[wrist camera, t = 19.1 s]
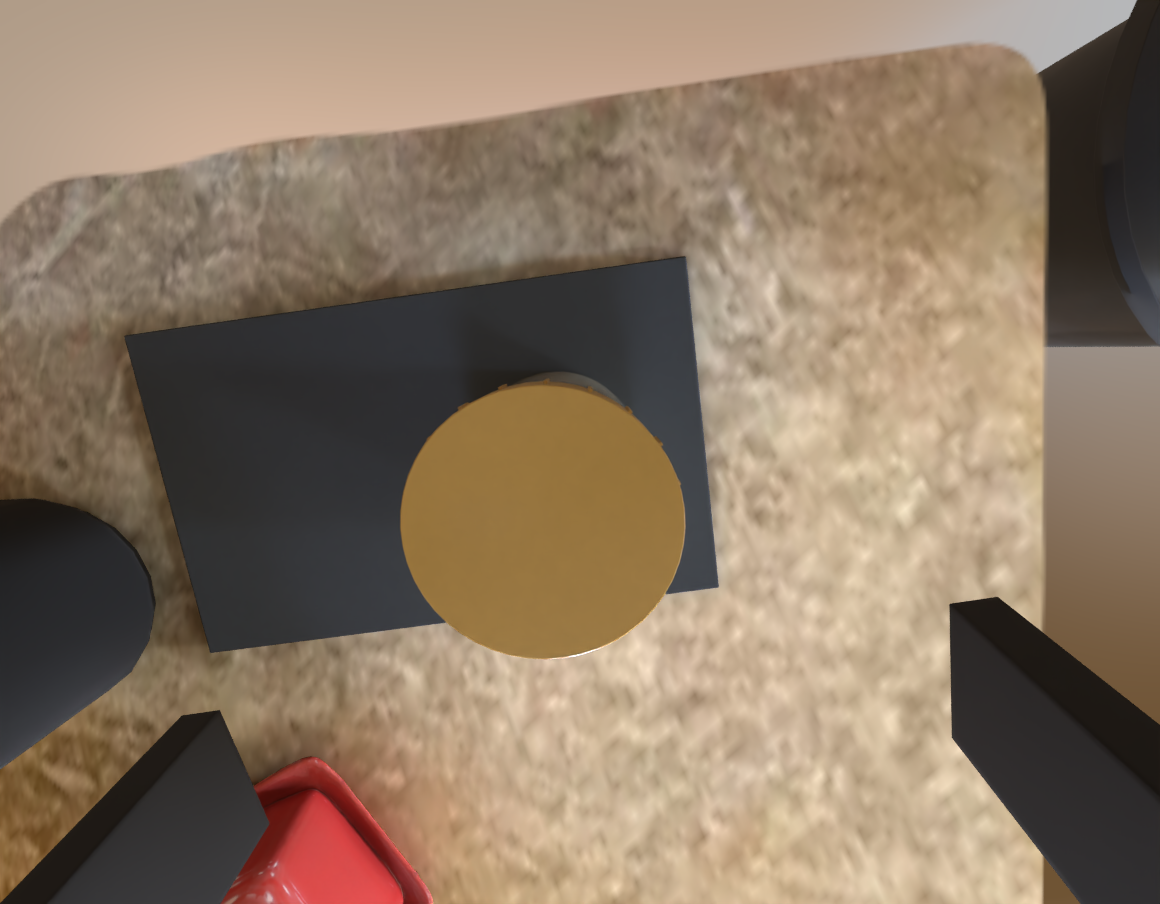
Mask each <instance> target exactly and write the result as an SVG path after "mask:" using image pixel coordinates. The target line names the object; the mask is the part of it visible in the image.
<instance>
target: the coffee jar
mask: <svg viewBox="0 0 1160 904" xmlns="http://www.w3.org/2000/svg"><path fill="white" fill-rule="evenodd" d="M155 604H156V602H155V597H154V592H153V586H152V581H151V576H150V574H149V572H148V570H147V568H146V567H145V565H144V563H143V561H142V559H141V557H140V555H139V554H138V552H137V550H136V549H135V548H134V547H133V546H132V545H131V544H130V543H129V542H128V541H127V540H126V539H125V538H124V537H123V536H122V535H121V534H120V533H119V532H118V531H117V530H116V529H115V528H114V527H112V526H110V525H109V524H107V523H105V522H103V521H102V520H100V519H98V518H97V517H95V516H93V515H91V514H90V513H88V512H84V511H81V510H79V509H77V508H74V507H70V506H66V505H62V504H58V503H54V502H50V501H46V500H41V499H12V500H0V769H1V768H3V767H4V766H5V765H7V764H8V763H10V762H11V761H12V760H14V759H15V758H16V757H18V756H19V755H21V754H22V753H23V752H25V751H26V750H27V749H29V748H30V747H32V746H33V745H34V744H36V743H37V742H38V741H40V740H41V739H43V738H44V737H45V736H47V735H48V734H49V733H51V732H52V731H54V730H55V729H56V728H58V727H59V726H60V725H62V724H63V723H65V722H66V721H67V720H69V719H70V718H71V717H73V716H74V715H76V714H77V713H78V712H80V711H81V710H82V709H84V708H85V707H87V706H88V705H89V704H91V703H92V702H93V701H95V700H96V699H98V698H99V697H100V696H102V695H103V694H104V693H106V692H107V691H109V690H110V689H111V688H112V687H113V686H115V685H116V684H117V683H118V682H120V681H121V680H122V679H123V678H124V677H126V676H127V675H128V674H129V673H130V672H132V670H133V668H134V666H135V665H136V663H137V661H138V659H139V658H140V656H141V654H142V652H143V651H144V649H145V647H146V645H147V643H148V642H149V639H150V633H151V629H152V623H153V617H154V610H155Z"/></svg>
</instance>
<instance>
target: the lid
mask: <svg viewBox="0 0 1160 904" xmlns="http://www.w3.org/2000/svg"><path fill="white" fill-rule="evenodd" d="M549 380H550V379H547V378H546V379H545V380H544V381H540V382H526V383H522V384H517V385H512V386H508V387H507V384H505V385H502V386H500V387H498V389H499V390H496V391H494V392H491V393H489V394H487V395H485V396H483V397H481V398H479V399H477V400H475V401H473V402H471V403H468V402H467V403H465V404H463V405H461V406H459V407H458V410H459V411H457V412H456V413H454V414H453V415H451V416H450V417H449V418H448V419H447V420H446V421H445V422H444V423H442V424H441V425H440V426H439V427H438V428H437V429H436V430H435V432H434V433H433V434H432V435H431V436H429V437H428V438H427V439H426V440H427V441H426V442H425V444H424V445H423V447H422V449H421V450H420V452H419V453H418V455H417V457H416V458H415V460H414V463H413V465H412V467H411V469H410V472H409V474H408V477H407V480H406V484H405V487H404V491H403V495H402V502H401V509H400V531H401V539H402V546H403V550H404V554H405V557H406V561H407V564H408V567H409V569H410V572H411V574H412V576H413V579H414V581H415V583H416V584H417V586H418V588H419V590H420V591H421V593H422V595H423V596H424V598H425V599H426V600H427V601H428V603H429V604H430V605H431V607H432V608H433V609H434V610H435V611H436V612H437V613H438V614H439V615H440V616H441V617H442V618H443V619H444V620H445V621H446V622H447V623H448V624H449V625H450V626H452V627H453V628H454V629H455V630H457V631H458V632H459V633H461V634H462V635H464V636H466V637H467V638H469V639H471V640H472V641H474V642H476V643H478V644H480V645H482V646H484V647H487V648H489V649H491V650H494V651H497V652H500V653H504V654H507V655H511V656H516V657H522V658H529V659H558V658H567V657H572V656H577V655H582V654H585V653H588V652H591V651H594V650H597V649H599V648H602V647H604V646H606V645H608V644H610V643H612V642H614V641H616V640H618V639H619V638H621V637H622V636H624V635H626V634H627V633H629V632H630V631H631V630H632V629H634V628H635V627H636V626H637V625H639V624H640V623H641V622H642V621H643V620H644V619H645V618H646V617H647V616H648V615H649V614H650V613H651V612H652V611H653V610H654V609H655V607H656V606H657V604H658V603H659V602H660V600H661V599H662V598H663V596H664V595H665V593H666V591H667V590H668V588H669V586H670V584H671V582H672V580H673V578H674V576H675V573H676V571H677V568H678V565H679V563H680V559H681V555H682V550H683V546H684V538H685V527H686V526H685V507H684V502H683V496H682V491H681V488H680V485H681V483H680V481H679V479H678V478H677V475H676V473H675V471H674V469H673V466H672V464H671V462H670V460H669V458H668V456H667V455H666V453H665V452H664V450H663V449H662V447H661V446H662V445H663V444H662V442H661V441H660V440H659V439H658V438H657V437H656V436H655V437H653V436H652V434H651V433H650V432H649V431H648V430H647V429H646V427H645V426H644V425H643V424H642V423H641V422H640V421H639V420H638V419H637V418H636V417H635V416H634V415H633V414H632V412H633V411H632V410H631V409H630V408H629V407H628V406H626V407H625V408H624V407H623V406H621V405H620V404H618V403H617V402H615V401H614V400H612V399H611V398H608V397H606V396H604V395H602V394H600V393H598V392H596V391H593V389H592V387H591V386H588V389H587V388H584V387H582V386H578V385H573V384H568V383H563V382H549Z"/></svg>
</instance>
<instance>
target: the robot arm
mask: <svg viewBox="0 0 1160 904" xmlns="http://www.w3.org/2000/svg"><path fill="white" fill-rule="evenodd" d="M950 655H951V712H952V738H953V740H954V741H955V742H956V743H957V745H958V746H959V747H960V749H961V750H962V751H963V752H964V754H965V755H966V756H967V758H968V759H969V760H970V762H971V763H972V764H973V765H974V767H975V768H976V769H977V771H978V772H979V773H980V774H981V776H982V777H983V778H984V780H985V781H986V782H987V783H988V785H989V786H990V787H991V789H992V790H993V791H994V793H995V794H996V795H997V796H998V798H999V799H1000V800H1001V802H1002V803H1003V804H1004V805H1005V807H1006V808H1007V809H1008V811H1009V812H1010V813H1011V814H1012V816H1013V817H1014V818H1015V820H1016V821H1017V822H1018V824H1019V825H1020V826H1021V827H1022V829H1023V830H1024V831H1025V833H1026V834H1027V835H1028V836H1029V838H1030V839H1031V840H1032V842H1033V843H1034V844H1035V846H1036V847H1037V848H1038V849H1039V851H1040V852H1041V853H1042V855H1043V856H1044V857H1045V858H1046V860H1047V861H1048V862H1049V864H1050V865H1051V866H1052V867H1053V869H1054V870H1055V871H1056V873H1057V874H1058V875H1059V876H1060V878H1061V879H1062V880H1063V882H1064V883H1065V884H1066V886H1067V887H1068V888H1069V889H1070V891H1071V892H1072V893H1073V894H1074V896H1075V897H1076V898H1077V900H1078V901H1079V902H1080V904H1160V725H1159V724H1158V723H1157V722H1155V721H1154V720H1153V719H1151V718H1150V717H1149V716H1148V715H1146V714H1145V713H1144V712H1142V711H1141V710H1140V709H1139V708H1138V707H1136V706H1135V705H1134V704H1132V703H1131V702H1130V701H1129V700H1128V699H1126V698H1125V697H1124V696H1122V695H1121V694H1120V693H1119V692H1117V691H1116V690H1115V689H1113V688H1112V687H1111V686H1110V685H1108V684H1107V683H1106V682H1105V681H1103V680H1102V679H1101V678H1099V677H1098V676H1097V675H1096V674H1095V673H1093V672H1092V671H1091V670H1089V669H1088V668H1087V667H1086V666H1084V665H1083V664H1082V663H1081V662H1079V661H1078V660H1077V659H1076V658H1074V657H1073V656H1072V655H1071V654H1069V653H1068V652H1067V651H1065V650H1064V649H1063V648H1062V647H1060V646H1059V645H1058V644H1057V643H1055V642H1054V641H1053V640H1051V639H1050V638H1049V637H1048V636H1046V635H1045V634H1044V633H1043V632H1041V631H1040V630H1039V629H1038V628H1036V627H1035V626H1034V625H1033V624H1031V623H1030V622H1029V621H1027V620H1026V619H1025V618H1024V617H1022V616H1021V615H1020V614H1019V613H1017V612H1016V611H1015V610H1014V609H1012V608H1011V607H1010V606H1008V605H1007V604H1006V603H1005V602H1003V601H1002V600H1001V599H1000V598H998V597H994V598H987V599H980V600H973V601H966V602H959V603H952V604H950ZM269 824H270V823H269V821H268V818H267V816H266V814H265V811H264V809H263V807H262V805H261V802H260V800H259V798H258V796H257V793H256V791H255V789H254V787H253V784H252V782H251V780H250V778H249V775H248V773H247V771H246V768H245V766H244V764H243V762H242V759H241V757H240V755H239V753H238V750H237V748H236V746H235V744H234V741H233V739H232V737H231V735H230V732H229V730H228V728H227V725H226V723H225V721H224V719H223V716H222V714H221V712H220V710H217V711H210V712H204V713H197V714H190V715H183V716H181V717H180V718H179V719H178V720H177V721H176V722H175V723H174V724H173V725H172V726H171V727H170V728H169V730H168V731H167V732H166V733H165V734H164V735H163V736H162V737H161V738H160V739H159V740H158V741H157V742H156V743H155V744H154V745H153V746H152V747H151V748H150V749H149V750H148V751H147V752H146V753H145V754H144V755H143V756H142V757H141V758H140V759H139V760H138V762H137V763H136V764H135V765H134V766H133V767H132V768H131V769H130V770H129V771H128V772H127V773H126V774H125V775H124V776H123V777H122V778H121V779H120V780H119V781H118V782H117V783H116V784H115V785H114V786H113V787H112V788H111V789H110V790H109V791H108V792H107V794H106V795H105V796H104V797H103V798H102V799H101V800H100V801H99V802H98V803H97V804H96V805H95V806H94V807H93V808H92V809H91V810H90V811H89V812H88V813H87V814H86V815H85V816H84V817H83V818H82V819H81V820H80V821H79V822H78V823H77V824H76V826H75V827H74V828H73V829H72V830H71V831H70V832H69V833H68V834H67V835H66V836H65V837H64V838H63V839H62V840H61V841H60V842H59V843H58V844H57V845H56V846H55V847H54V848H53V849H52V850H51V851H50V852H49V853H48V854H47V855H46V856H45V858H44V859H43V860H42V861H41V862H40V863H39V864H38V865H37V866H36V867H35V868H34V869H33V870H32V871H31V872H30V873H29V874H28V875H27V876H26V877H25V878H24V879H23V880H22V881H21V882H20V883H19V884H18V885H17V886H16V887H15V888H14V890H13V891H12V892H11V893H10V894H9V895H8V896H7V897H6V898H5V899H4V900H3V901H2V902H1V903H0V904H221V902H222V901H223V899H224V897H225V896H226V894H227V893H228V891H229V889H230V888H231V886H232V884H233V883H234V881H235V880H236V878H237V876H238V875H239V873H240V871H241V870H242V868H243V866H244V865H245V863H246V862H247V860H248V858H249V857H250V855H251V853H252V852H253V850H254V848H255V847H256V845H257V844H258V842H259V840H260V839H261V837H262V835H263V834H264V832H265V831H266V829H267V827H268V826H269Z"/></svg>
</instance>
